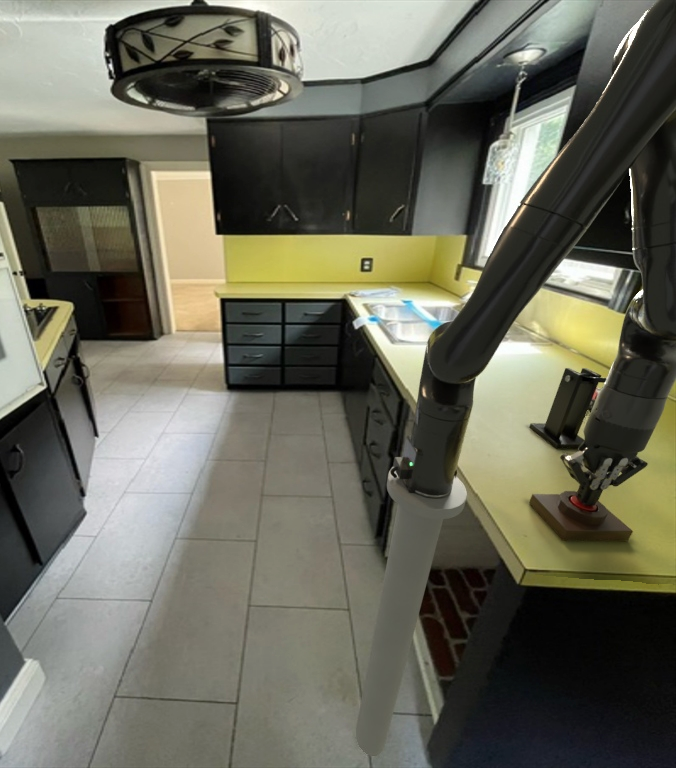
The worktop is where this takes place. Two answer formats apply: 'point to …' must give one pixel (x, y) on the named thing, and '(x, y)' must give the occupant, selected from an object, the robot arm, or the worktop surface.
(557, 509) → the button base
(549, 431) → the bracket
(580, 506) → the release button
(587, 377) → the latch lever
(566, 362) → the worktop surface
